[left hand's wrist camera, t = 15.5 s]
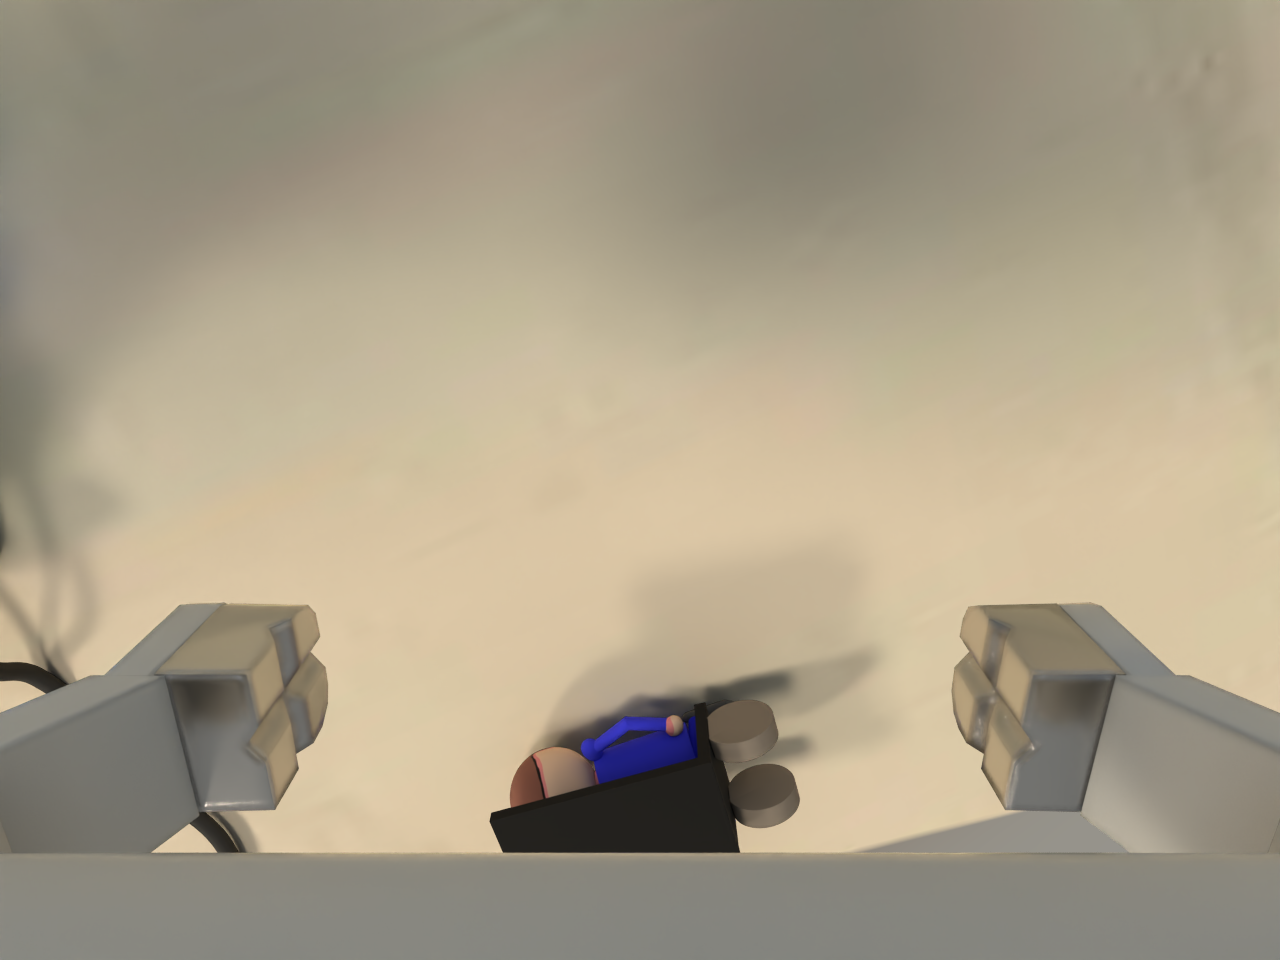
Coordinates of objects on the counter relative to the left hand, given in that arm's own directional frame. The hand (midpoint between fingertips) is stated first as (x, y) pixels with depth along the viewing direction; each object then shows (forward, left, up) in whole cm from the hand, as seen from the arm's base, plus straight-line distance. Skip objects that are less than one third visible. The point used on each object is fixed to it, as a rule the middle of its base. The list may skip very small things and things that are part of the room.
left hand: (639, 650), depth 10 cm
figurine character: (-25, 0, -29) cm, 38 cm away
